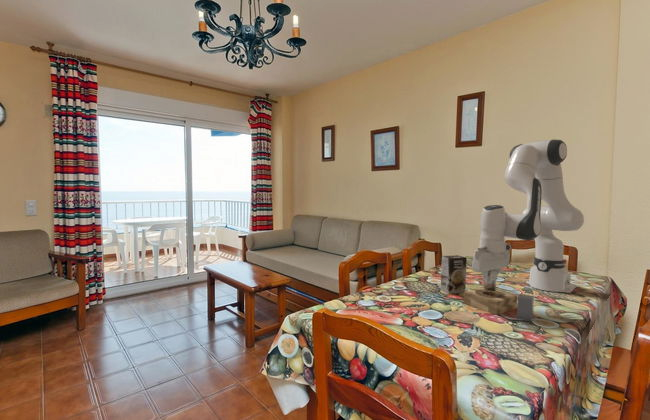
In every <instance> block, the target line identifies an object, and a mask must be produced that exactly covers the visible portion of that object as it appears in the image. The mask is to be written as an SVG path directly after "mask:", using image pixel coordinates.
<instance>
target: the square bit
mask: <svg viewBox="0 0 650 420" xmlns="http://www.w3.org/2000/svg"><path fill="white" fill-rule="evenodd" d="M534 297H535V296H534V295H533V296H532V295H529V294H523V293H522V294H521V293H519V294H518V295H517V308H516V309H517V310H516V319H517V320H521V321H527V322H531V323H532V321H533V318H534V301H535V300H534V299H535V298H534Z"/></svg>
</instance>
